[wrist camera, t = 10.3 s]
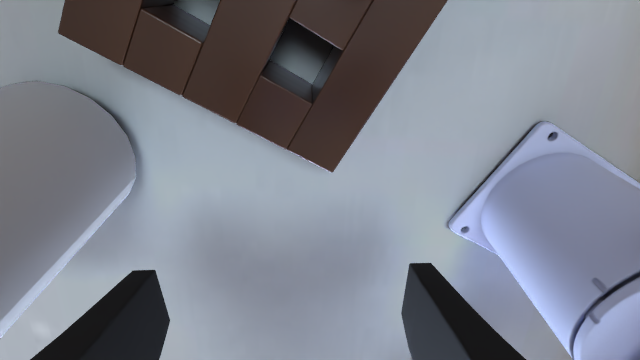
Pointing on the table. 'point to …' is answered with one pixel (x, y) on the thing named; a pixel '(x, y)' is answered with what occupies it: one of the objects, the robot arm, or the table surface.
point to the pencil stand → (263, 60)
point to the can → (53, 184)
